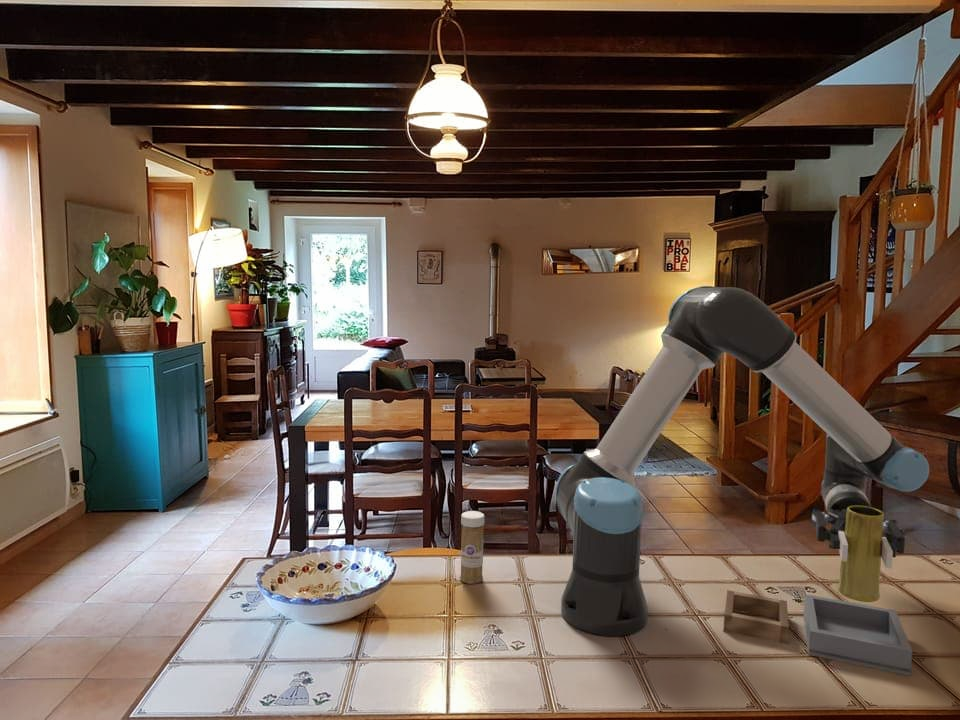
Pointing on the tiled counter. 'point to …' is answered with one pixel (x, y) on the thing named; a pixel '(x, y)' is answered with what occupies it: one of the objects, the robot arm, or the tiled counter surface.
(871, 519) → the vase
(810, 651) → the tray
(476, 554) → the sprinkles bottle
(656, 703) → the tiled counter surface
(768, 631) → the socket
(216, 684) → the tiled counter surface
